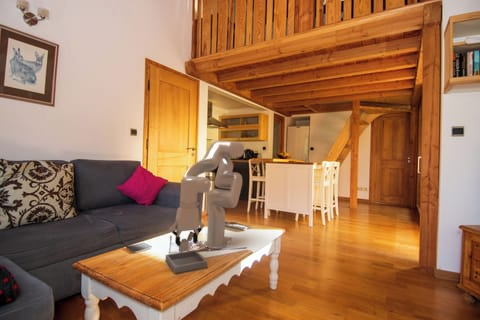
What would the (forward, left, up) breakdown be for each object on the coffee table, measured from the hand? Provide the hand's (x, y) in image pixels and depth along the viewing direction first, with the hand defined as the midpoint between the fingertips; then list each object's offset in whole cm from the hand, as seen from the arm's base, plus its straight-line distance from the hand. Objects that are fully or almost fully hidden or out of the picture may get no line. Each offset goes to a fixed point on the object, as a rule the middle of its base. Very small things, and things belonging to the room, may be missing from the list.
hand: (186, 243), depth 113 cm
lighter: (0, 0, -3) cm, 3 cm away
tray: (0, 0, -10) cm, 10 cm away
